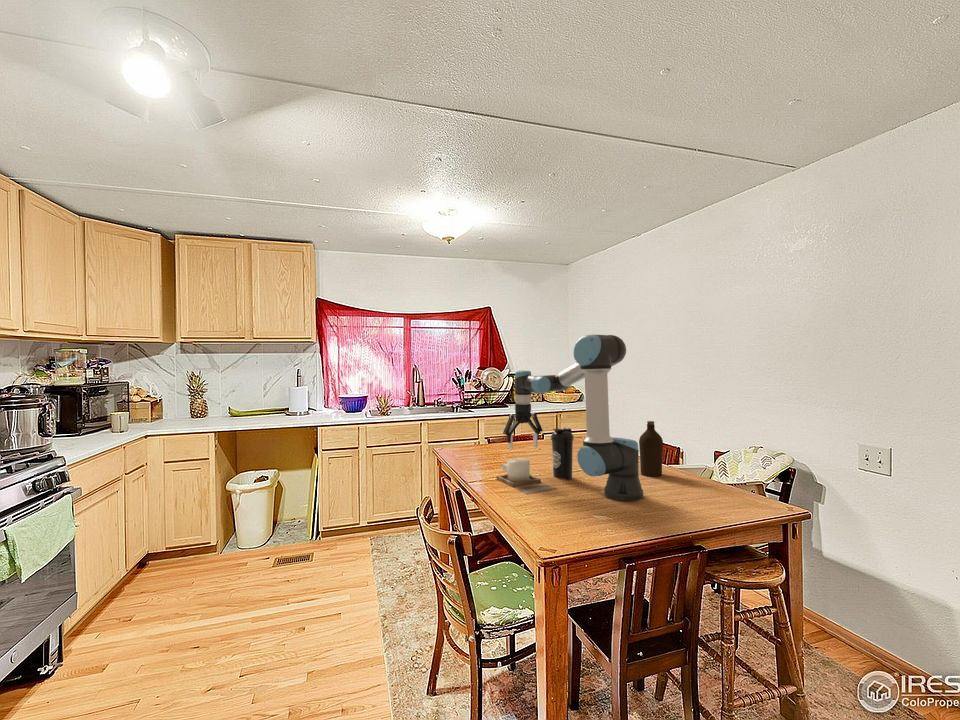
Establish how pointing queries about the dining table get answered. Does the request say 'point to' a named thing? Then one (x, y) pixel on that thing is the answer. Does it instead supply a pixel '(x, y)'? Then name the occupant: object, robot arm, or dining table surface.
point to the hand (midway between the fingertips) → (523, 448)
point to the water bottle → (562, 453)
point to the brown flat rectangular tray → (527, 485)
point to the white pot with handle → (517, 469)
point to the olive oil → (651, 452)
